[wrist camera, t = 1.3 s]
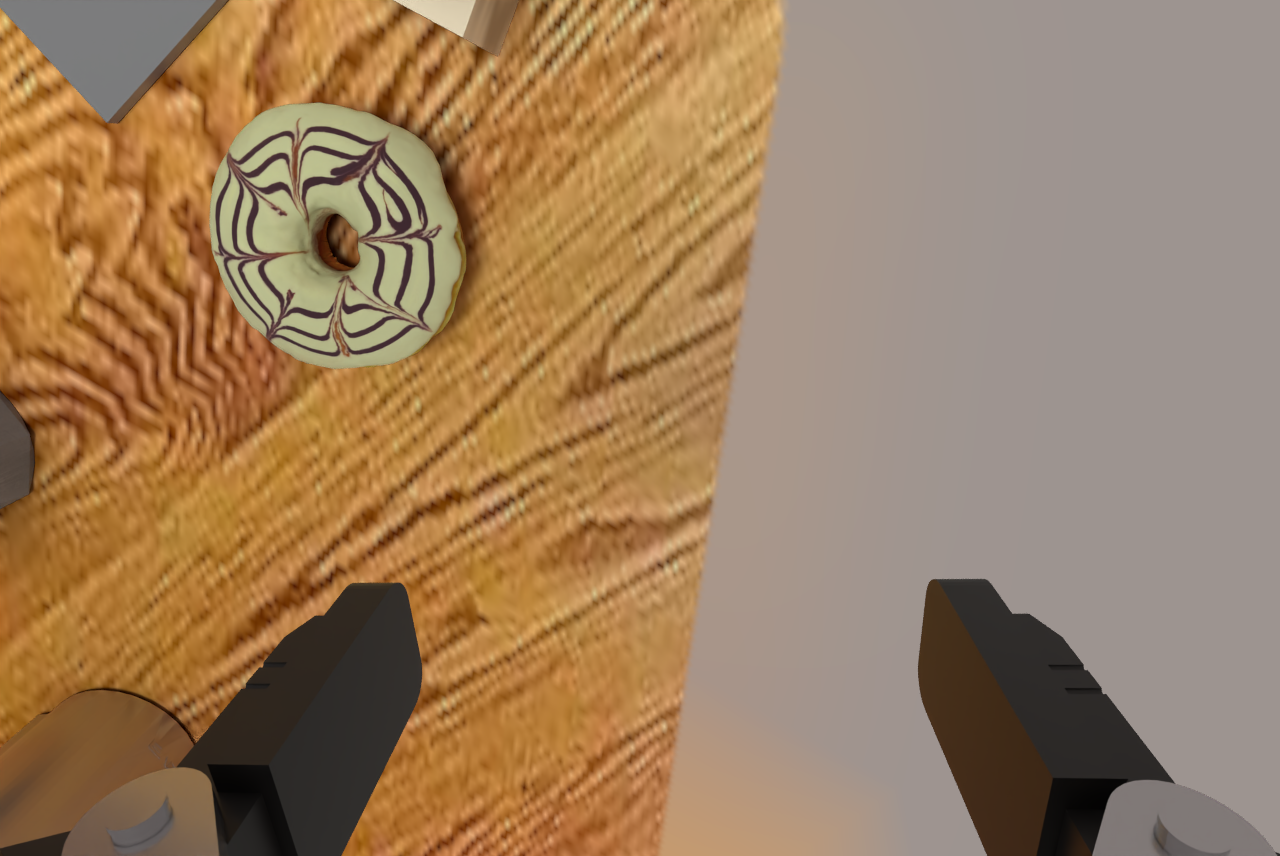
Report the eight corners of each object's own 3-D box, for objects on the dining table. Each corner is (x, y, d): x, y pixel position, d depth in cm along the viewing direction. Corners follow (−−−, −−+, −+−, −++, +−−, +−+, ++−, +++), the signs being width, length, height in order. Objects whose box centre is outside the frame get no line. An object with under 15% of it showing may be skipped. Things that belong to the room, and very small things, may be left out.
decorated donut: (454, 95, 29) (424, 87, 26) (494, 346, 33) (472, 368, 29) (217, 118, 30) (155, 113, 27) (282, 361, 34) (236, 384, 30)
